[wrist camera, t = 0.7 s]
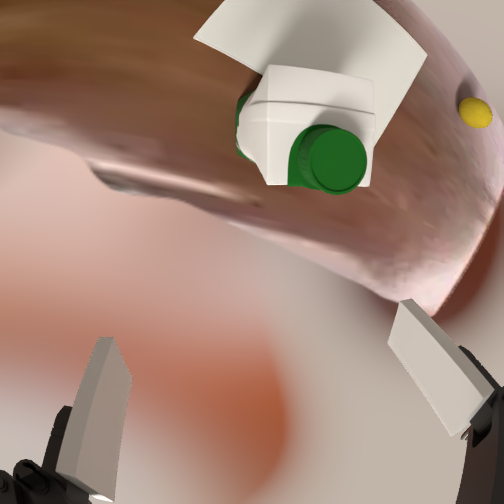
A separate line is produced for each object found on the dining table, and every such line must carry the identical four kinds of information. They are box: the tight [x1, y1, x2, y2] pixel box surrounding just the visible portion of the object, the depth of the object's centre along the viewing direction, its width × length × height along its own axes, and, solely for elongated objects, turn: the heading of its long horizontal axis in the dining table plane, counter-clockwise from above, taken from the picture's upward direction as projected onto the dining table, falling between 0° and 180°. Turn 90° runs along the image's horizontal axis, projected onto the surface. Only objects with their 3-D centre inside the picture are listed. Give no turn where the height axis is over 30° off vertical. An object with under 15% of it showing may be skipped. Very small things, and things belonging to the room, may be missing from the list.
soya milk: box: [236, 64, 376, 195], centre depth 23 cm, size 9×9×20 cm
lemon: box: [459, 97, 493, 128], centre depth 30 cm, size 6×6×8 cm
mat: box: [194, 0, 427, 148], centre depth 27 cm, size 22×28×1 cm
